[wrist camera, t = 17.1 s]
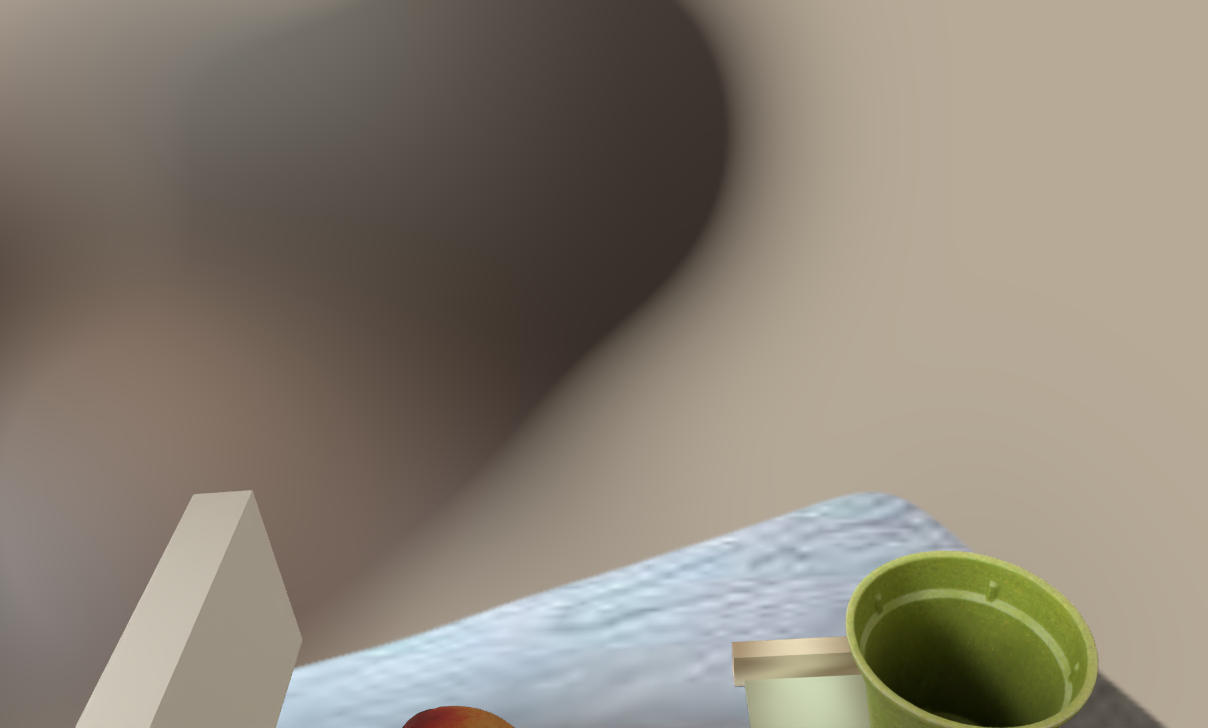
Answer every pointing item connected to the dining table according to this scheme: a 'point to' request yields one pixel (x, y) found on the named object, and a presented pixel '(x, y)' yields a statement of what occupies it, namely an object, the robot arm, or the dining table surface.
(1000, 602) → the plant pot
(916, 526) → the dining table surface
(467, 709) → the fruit
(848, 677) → the trap box
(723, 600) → the dining table surface
